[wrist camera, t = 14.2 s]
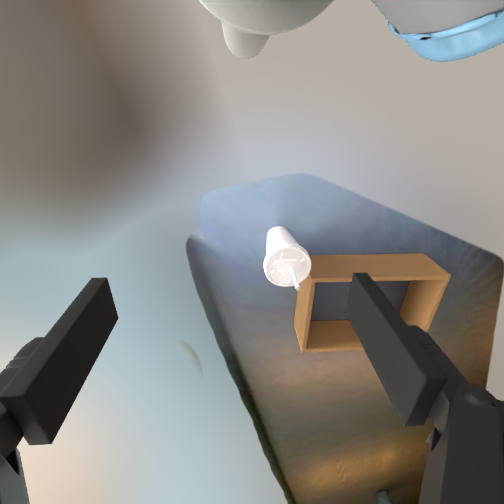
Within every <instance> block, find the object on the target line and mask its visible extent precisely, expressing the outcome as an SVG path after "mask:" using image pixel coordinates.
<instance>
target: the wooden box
mask: <svg viewBox="0 0 504 504" xmlns="http://www.w3.org/2000/svg"><path fill="white" fill-rule="evenodd" d="M309 256H310V260H311V270H310V273H309V274H308V276H307V277H306V278H305V279H304V280H303V281H302V282H300V283H299V285H300V290H298V292H297V301H296V310H295V319H294V327H295V330H296V334H297V338H298V342H299V345H300V349H301V352H328V351H356V350H364V348H363V346H362V344H361V342H360V340H359V338H358V336H357V335H356V333H355V331H354V329H353V327H352V325H351V323H350V321H349V320H327V321H310V319H311V313H312V306H313V299H314V292H315V285H316V282H351V281H352V277H353V273H368V274H369V276H370V277H371V278H372V280H373V281H403V280H411V281H410V283H409V286H408V289H407V292H406V295H405V298H404V301H403V304H402V307H401V310H400V313H399V315H400V316H401V317H402V319H403V320H404V321H405V323H406V324H407V325H417V326H418V327H420V328H421V329H423V330H424V331H425V332H427V331H428V329H429V327H430V324H431V322H432V319H433V317H434V315H435V312H436V310H437V307H438V305H439V303H440V300H441V298H442V296H443V293H444V291H445V288H446V286H447V284H448V281H449V279H450V277H451V275H450V274H449V273H448V272H446V271H445V270H444V269H443V268H441V267H440V266H439V265H438V264H436V263H435V262H434V261H433V260H432V259H430V258H429V257H428V256H427V255H425V254H424V253H414V254H352V255H309Z"/></svg>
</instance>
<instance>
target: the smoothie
mask: <svg viewBox="0 0 504 504" xmlns="http://www.w3.org/2000/svg"><path fill="white" fill-rule="evenodd" d="M263 267H264V271H265V274H266V276H267V278H268V279H269V280H270V281H271V282H272V283H273V284H275V285H278V286H283V287H289V286H294V285H295V288H296V290H300V285H299V283H300V282H302V281H303V280H304V279H305V278H306V277H307V276H308V274H309V273H310V270H311V260H310V256H309V254H308V252H307V251H306V250H305V249H304V248H303V247H301V246H299V244H298V243H297V242H296V240H295V239H294V238H293V237H292V235H291V234H290V233H289V231H288V230H287V229H286V228H284V227H282V226H276V227H273V228H272V229H270V230H269V232H268V234H267V248H266V257H265V260H264V266H263Z"/></svg>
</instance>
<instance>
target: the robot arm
mask: <svg viewBox="0 0 504 504" xmlns="http://www.w3.org/2000/svg"><path fill="white" fill-rule="evenodd" d="M371 1H372V2H373V3H374V4H375V5H376V7H377V8H378V9H379V10H380V11H381V13H382V14H383V15H384V16H385V17H386V19H387V20H388V25H389V27H390V29H391V31H392V32H393V33H394V34H395V35H397V36H399V37H401V38H403V39H404V40H405V41H406V42H407V43H408V44H409V45H410V46H411V47H412V48H413V49H414V51H415V52H416V53H417V54H418V55H419V56H421V57H423V58H426V59H429V60H431V61H437V62H447V61H454V60H459V59H463V58H466V57H469V56H473V55H476V54H478V53H481V52H483V51H486V50H488V49H491V48H493V47H495V46H497V45H499V44H501V43H503V42H504V0H371ZM345 313H346V315H347V317H348V319H349V321H350V323H351V325H352V327H353V329H354V331H355V333H356V335H357V336H358V338H359V340H360V342H361V344H362V346H363V348H364V350H365V352H366V354H367V356H368V358H369V360H370V361H371V363H372V365H373V367H374V369H375V371H376V373H377V375H378V377H379V379H380V381H381V383H382V385H383V386H384V388H385V390H386V392H387V394H388V396H389V398H390V400H391V402H392V404H393V406H394V408H395V410H396V411H397V413H398V415H399V417H400V419H401V421H402V423H403V425H404V426H418V425H424V423H425V421H426V419H427V417H428V416H429V418H430V419H431V421H432V423H433V424H434V427H433V429H432V431H431V433H430V435H429V436H428V438H427V440H426V442H427V443H428V444H429V448H428V454H427V459H426V465H425V470H424V476H423V481H422V487H421V492H420V497H419V503H418V504H504V401H500V400H497V399H496V398H495V397H494V396H493V395H492V394H490V393H489V392H488V391H487V390H485V389H483V388H482V387H480V386H478V385H475V384H472V383H469V382H468V381H467V380H466V379H465V378H464V376H463V375H462V374H461V373H460V372H459V370H458V369H457V368H456V367H455V366H454V364H453V363H452V362H451V361H450V360H449V358H448V357H447V356H446V355H445V353H443V352H442V350H441V349H440V347H439V346H438V345H436V343H435V341H434V340H433V339H432V338H431V337H430V335H429V334H428V333H427V332H425V331H424V330H423V329H421V328H420V327H418V326H417V325H407V324H406V323H405V321H404V320H403V319H402V317H401V316H400V315H399V314H398V312H397V311H396V310H395V308H394V307H393V306H392V304H391V303H390V302H389V301H388V299H387V298H386V297H385V295H384V294H383V293H382V291H381V290H380V289H379V287H378V286H377V285H376V284H375V282H374V281H373V280H372V278H371V277H370V276H369V274H368V273H353V277H352V281H351V286H350V290H349V295H348V299H347V304H346V309H345ZM117 320H118V315H117V311H116V308H115V304H114V301H113V297H112V293H111V290H110V287H109V283H108V279H107V278H91V280H90V281H89V282H88V283H87V285H86V286H85V287H84V289H83V290H82V291H81V292H80V294H79V295H78V296H77V297H76V299H75V300H74V301H73V302H72V304H71V305H70V306H69V307H68V309H67V310H66V311H65V313H64V314H63V315H62V316H61V317H60V319H59V320H58V321H57V322H56V324H55V325H54V326H53V327H52V329H51V330H50V331H49V333H48V334H47V335H46V336H45V337H38V338H35V339H33V340H32V341H30V342H29V343H28V344H26V345H25V346H24V347H23V348H22V349H21V350H20V351H19V352H18V353H17V355H16V356H15V357H14V359H13V360H12V361H10V363H9V364H8V365H7V366H6V369H4V370H3V371H2V372H1V373H0V504H30V503H29V498H28V493H27V488H26V483H25V478H24V473H23V468H22V463H21V457H20V453H19V451H18V449H17V448H16V447H17V445H18V444H19V442H20V441H21V439H22V437H23V436H24V438H25V439H26V441H27V442H28V444H29V445H43V444H52V442H53V440H54V438H55V437H56V435H57V433H58V431H59V429H60V427H61V425H62V423H63V422H64V420H65V418H66V416H67V414H68V412H69V410H70V408H71V407H72V405H73V403H74V401H75V399H76V397H77V395H78V393H79V391H80V390H81V388H82V386H83V384H84V382H85V380H86V378H87V376H88V374H89V373H90V371H91V369H92V367H93V365H94V363H95V361H96V359H97V358H98V356H99V354H100V352H101V350H102V348H103V346H104V344H105V342H106V340H107V339H108V337H109V335H110V333H111V331H112V329H113V327H114V325H115V324H116V322H117Z"/></svg>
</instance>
